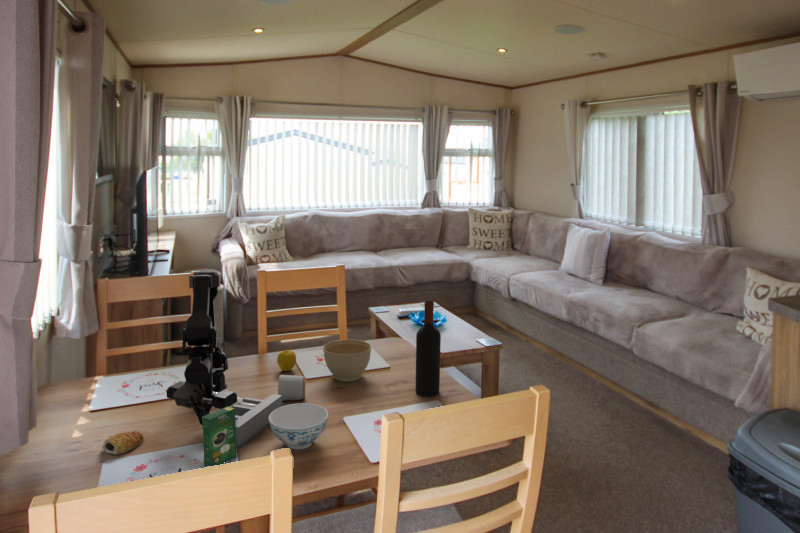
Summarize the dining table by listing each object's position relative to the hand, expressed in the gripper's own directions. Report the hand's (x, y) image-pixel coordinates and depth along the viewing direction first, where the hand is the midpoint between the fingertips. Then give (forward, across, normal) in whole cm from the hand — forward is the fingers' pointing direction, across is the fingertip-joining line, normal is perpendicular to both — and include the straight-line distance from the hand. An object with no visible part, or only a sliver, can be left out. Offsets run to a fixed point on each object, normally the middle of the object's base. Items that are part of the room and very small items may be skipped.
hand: (202, 424), depth 153 cm
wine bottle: (+1, +49, +47) cm, 68 cm away
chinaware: (+1, +28, +3) cm, 28 cm away
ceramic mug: (+2, +11, +28) cm, 30 cm away
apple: (+2, -2, +47) cm, 47 cm away
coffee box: (+2, +15, -12) cm, 19 cm away
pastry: (+3, -13, -14) cm, 20 cm away
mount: (+2, +10, +6) cm, 11 cm away
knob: (+1, +6, +11) cm, 13 cm away
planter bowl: (+1, +20, +49) cm, 53 cm away
